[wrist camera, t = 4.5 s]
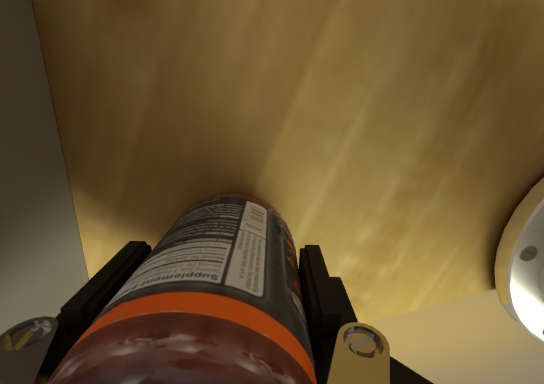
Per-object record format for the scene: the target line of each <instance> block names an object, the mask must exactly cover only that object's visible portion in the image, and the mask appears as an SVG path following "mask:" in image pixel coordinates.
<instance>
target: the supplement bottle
mask: <svg viewBox="0 0 544 384" xmlns="http://www.w3.org/2000/svg"><path fill="white" fill-rule="evenodd" d="M46 384H317V381H316V377H315V370H314V359H313V353H312V348H311V343H310V336H309V331H308V324H307V318H306V313H305V307H304V302H303V296H302V289H301V281H300V276H299V269H298V264H297V257H296V250H295V246H294V242H293V239H292V236H291V233H290V231H289V228H288V226H287V224H286V223H285V221H284V220H283V219H282V217H281V216H280V214H279V213H278V212H277V211H276V210H274V209H273V208H272V207H271V206H270V205H268V204H266V203H264V202H262V201H260V200H259V199H256V198H254V197H251V196H247V195H244V194H236V193H227V194H219V195H214V196H210V197H208V198H206V199H203V200H201V201H199V202H197V203H196V204H195V205H193V206H192V207H190V208H189V209H188V210H187V211H186V212H185V213H184V214H183V215H182V216H181V217H180V218H179V219H178V220H177V221H176V223H175V224H174V225H173V226H172V228H171V229H170V230H169V231H168V232H167V233H166V235H165V236H164V237H163V238H162V240H161V241H160V242H159V243H158V244H157V246H156V247H155V248H154V249H153V250H152V252H151V253H150V254H149V255H148V256H147V258H146V259H145V260H144V261H143V262H142V263H141V265H140V266H139V267H138V268H137V269H136V270H135V271H134V273H133V274H132V275H131V277H130V278H129V279H128V280H127V281H126V282H125V284H124V285H123V286H122V287H121V288H120V290H119V291H118V292H117V293H116V294H115V296H114V297H113V298H112V299H111V300H110V301H109V302H108V303H107V305H106V306H105V307H104V309H103V310H102V312H101V313H100V314H99V315H98V316H97V317H96V318H95V319H94V321H93V322H92V324H91V326H90V327H89V328H88V329H87V330H86V331H85V333H84V334H83V335H82V336H81V337H80V338H79V340H78V341H77V342H76V343H75V345H74V346H73V347H72V348H71V350H70V351H69V352H68V353H67V354H66V356H65V357H64V358H63V360H62V361H61V363H60V364H59V366H58V367H57V368H56V370H55V371H54V372H53V374H52V375H51V377H50V378H49V380H48V382H47V383H46Z"/></svg>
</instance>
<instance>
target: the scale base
mask: <svg viewBox="0 0 544 384" xmlns="http://www.w3.org/2000/svg"><path fill="white" fill-rule="evenodd" d="M88 281H89V278H88V273H87V268H86V264H85V259H84V254H83V249H82V244H81V239H80V234H79V230H78V225H77V220H76V215H75V210H74V205H73V200H72V196H71V191H70V186H69V181H68V176H67V171H66V166H65V162H64V157H63V152H62V147H61V142H60V137H59V132H58V128H57V123H56V118H55V113H54V108H53V103H52V98H51V94H50V89H49V84H48V79H47V74H46V69H45V64H44V60H43V55H42V50H41V45H40V40H39V35H38V30H37V26H36V21H35V16H34V11H33V6H32V1H31V0H0V335H2V334H3V333H4V332H6V331H7V330H8V329H10V328H12V327H13V326H15V325H17V324H19V323H21V322H24V321H26V320H29V319H32V318H36V317H43V316H48V317H53V318H55V317H56V316H57V315H58V314H60V313H61V310H60V308H61V307H62V306H63V305H64V304H65V303H66V302H67V301H68V300H70V299H71V298H72V297H73V296H74V295H75V294H76V293H77V292H78V291H79V290H80V289H81V288H82V287H83V286H84V285H85V284H86V283H87V282H88Z"/></svg>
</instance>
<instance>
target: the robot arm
mask: <svg viewBox="0 0 544 384" xmlns="http://www.w3.org/2000/svg"><path fill="white" fill-rule="evenodd" d="M151 252H152V250H151V246H150V245H147V243H146V242H145V241H130V242H129V243H128V244H126V245H125V246H124V247H123V248H122V249H121V250H120V251H119V252H118V253H117V254H116V255H115V256H114V257H113V258H112V259H111V260H110V261H109V262H108V263H107V264H106V265H105V266H104V267H103V268H102V269H101V270H100V271H99V272H97V273H96V274H95V275H94V276H93V277H92V278H91V279H90V280H89V281H88V282H87V283H86V284H85V285H84V286H83V287H82V288H81V289H80V290H79V291H78V292H77V293H76V294H75V295H74V296H73V297H72V298H71V299H70V300H68V301H67V302H66V303H65V304H64V305H63V306H62V307H61V308H60V310H61V313H60V314H58V315H57V316H56V317H55V318H53V317H48V316H43V317H36V318H32V319H29V320H26V321H24V322H21V323H19V324H17V325H15V326H13V327H12V328H10V329H8V330H7V331H6V332H4V333H3V334H2V335H0V384H46V383H47V382H48V380H49V378H50V377H51V375H52V374H53V372H54V371H55V370H56V368H57V367H58V366H59V364H60V363H61V361H62V360H63V358H64V357H65V356H66V354H67V353H68V352H69V351H70V350H71V348H72V347H73V346H74V345H75V343H76V342H77V341H78V340H79V338H80V337H81V336H82V335H83V334H84V333H85V331H86V330H87V329H88V328H89V327H90V326H91V324H92V322H93V321H94V319H95V318H96V317H97V316H98V315H99V314H100V313H101V312H102V310H103V309H104V307H105V306H106V305H107V303H108V302H109V301H110V300H111V299H112V298H113V297H114V296H115V294H116V293H117V292H118V291H119V290H120V288H121V287H122V286H123V285H124V284H125V282H126V281H127V280H128V279H129V278H130V277H131V275H132V274H133V273H134V271H135V270H136V269H137V268H138V267H139V266H140V265H141V263H142V262H143V261H144V260H145V259H146V258H147V256H148V255H149V254H150V253H151ZM494 272H495V285H496V290H497V292H498V295H499V298H500V301H501V303H502V305H503V306H504V308H505V309H506V311H507V312H508V314H509V315H510V316H511V317H512V318H513V319H514V320H515V321H517V322H518V323H519V324H520V325H521V326H522V327H523V328H524V329H525V330H526V331H528V332H529V333H531V334H532V335H533V336H535V337H536V338H538V339H539V340H541V341H544V177H543V178H542V179H541V180H540V181H539V182H538V183H537V184H536V185H535V186H534V187H533V188H532V189H531V190H530V191H529V193H528V194H527V195H526V197H525V198H524V199H523V200H522V202H521V203H520V204H519V205H518V207H517V208H516V210H515V211H514V213H513V215H512V217H511V218H510V220H509V222H508V224H507V225H506V227H505V229H504V232H503V235H502V238H501V240H500V243H499V246H498V249H497V254H496V261H495V268H494ZM299 276H300V281H301V289H302V296H303V302H304V307H305V313H306V318H307V324H308V331H309V336H310V343H311V348H312V353H313V359H314V370H315V377H316V381H317V384H433V383H432V382H430V381H429V380H427V379H425V378H424V377H422V376H421V375H419V374H417V373H416V372H414V371H413V370H411V369H410V368H408V367H406V366H405V365H403V364H402V363H400V362H398V361H397V360H395V359H394V358H392V357H390V349H389V344H388V342H387V340H386V338H385V336H384V335H383V334H381V332H380V331H378V330H377V329H375V328H374V327H372V326H369V325H367V324H364V323H359V322H358V321H357V318H356V316H355V313H354V310H353V308H352V305H351V303H350V300H349V298H348V295H347V293H346V290H345V288H344V285H343V283H342V280H341V278H340V277H329V274H328V271H327V268H326V265H325V262H324V259H323V256H322V253H321V250H320V247H319V245H305V248H300V257H299Z"/></svg>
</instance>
